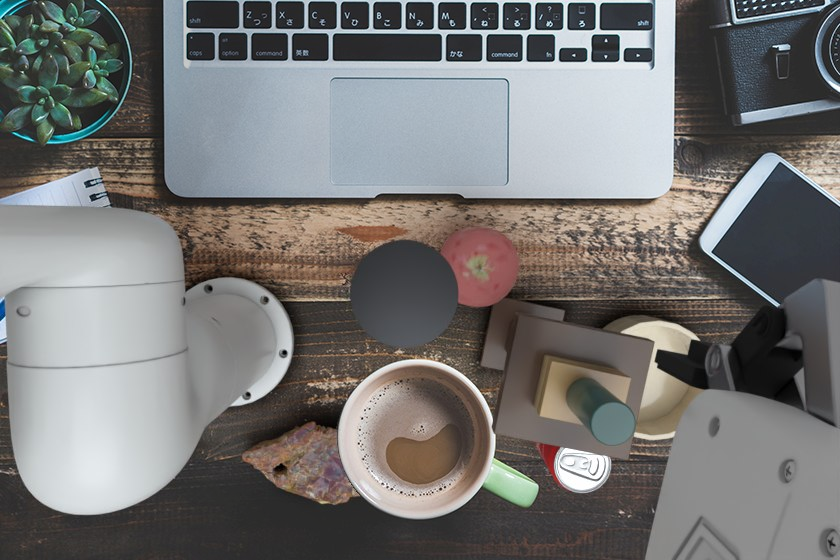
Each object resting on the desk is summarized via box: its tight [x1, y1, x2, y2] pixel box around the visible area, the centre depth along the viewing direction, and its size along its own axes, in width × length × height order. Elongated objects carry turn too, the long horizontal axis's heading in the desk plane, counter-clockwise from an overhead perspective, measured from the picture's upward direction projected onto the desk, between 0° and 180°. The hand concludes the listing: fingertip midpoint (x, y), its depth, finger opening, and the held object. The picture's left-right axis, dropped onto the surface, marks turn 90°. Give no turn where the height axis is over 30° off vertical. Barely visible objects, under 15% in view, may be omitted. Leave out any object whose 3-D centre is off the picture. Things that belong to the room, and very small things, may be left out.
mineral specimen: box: [241, 421, 361, 506], centre depth 65 cm, size 12×8×7 cm, turn 61°
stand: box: [479, 296, 655, 461], centre depth 56 cm, size 9×8×23 cm
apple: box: [439, 226, 520, 308], centre depth 63 cm, size 7×7×8 cm
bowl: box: [602, 314, 705, 441], centre depth 65 cm, size 11×11×5 cm
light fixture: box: [349, 239, 459, 349], centre depth 54 cm, size 7×7×25 cm
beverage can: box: [533, 442, 612, 494], centre depth 62 cm, size 5×5×12 cm
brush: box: [533, 355, 636, 446], centre depth 40 cm, size 5×4×8 cm
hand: (665, 481), depth 27 cm, fingers open, 9 cm apart
